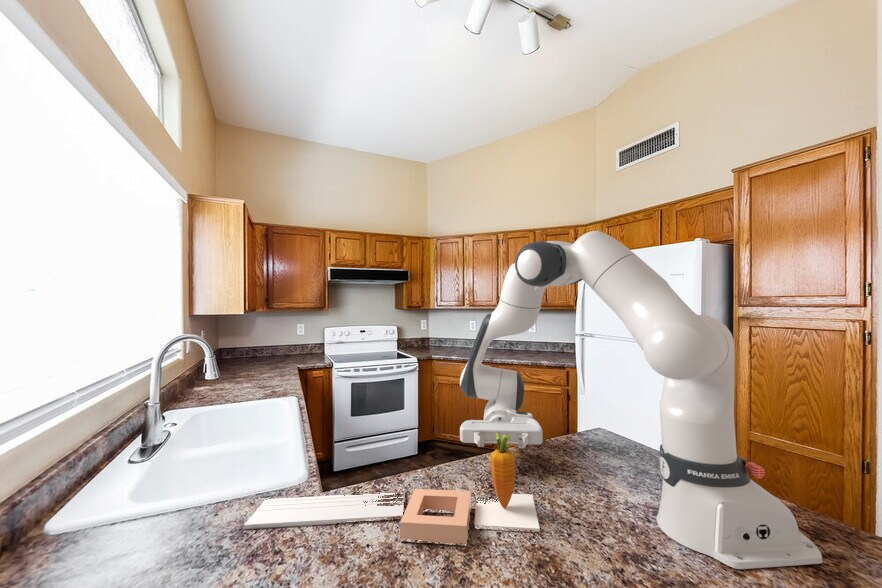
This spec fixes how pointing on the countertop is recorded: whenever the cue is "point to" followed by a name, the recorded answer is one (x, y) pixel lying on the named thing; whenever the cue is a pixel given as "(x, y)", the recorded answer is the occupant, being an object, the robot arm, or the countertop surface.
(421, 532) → the holder ring
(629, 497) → the countertop surface
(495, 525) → the plate
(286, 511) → the baseboard molding
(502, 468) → the carrot
